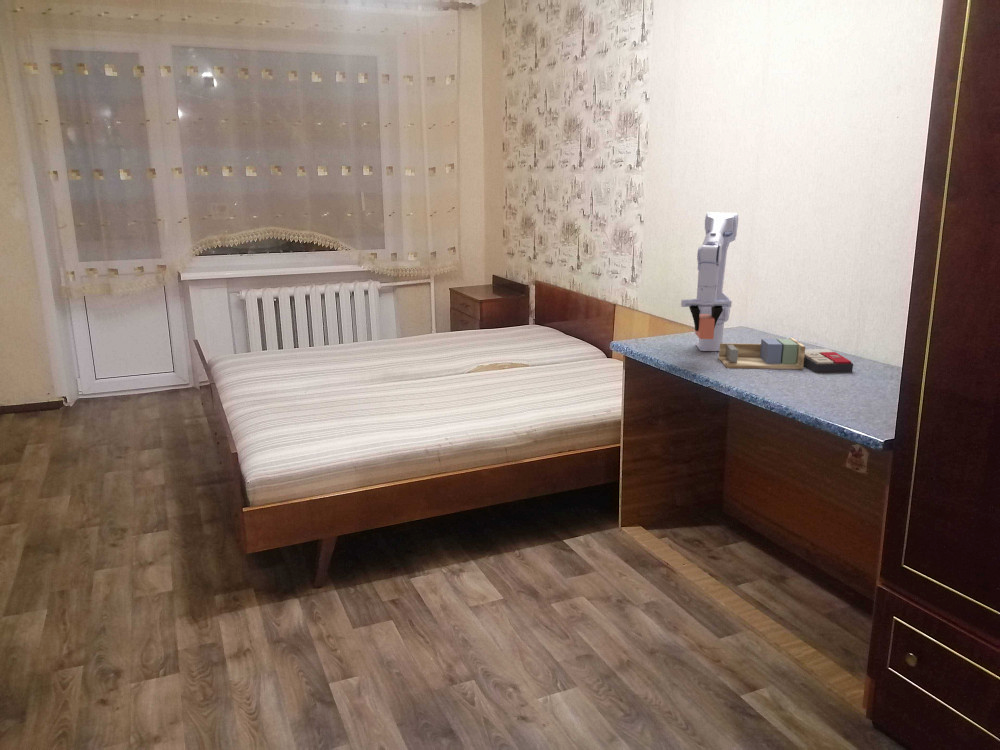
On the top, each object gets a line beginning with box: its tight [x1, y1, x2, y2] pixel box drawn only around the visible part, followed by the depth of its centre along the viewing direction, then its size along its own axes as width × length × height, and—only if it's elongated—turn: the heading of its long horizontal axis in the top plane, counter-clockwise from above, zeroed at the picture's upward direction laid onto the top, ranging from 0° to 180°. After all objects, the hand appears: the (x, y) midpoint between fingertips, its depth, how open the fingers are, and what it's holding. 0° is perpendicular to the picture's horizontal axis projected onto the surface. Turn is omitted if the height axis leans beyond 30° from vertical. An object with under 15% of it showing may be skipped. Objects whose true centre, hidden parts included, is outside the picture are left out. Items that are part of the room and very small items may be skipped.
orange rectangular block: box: [694, 314, 715, 340], centre depth 227 cm, size 8×4×6 cm, turn 176°
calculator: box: [803, 348, 854, 374], centre depth 225 cm, size 11×4×15 cm
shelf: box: [718, 337, 806, 370], centre depth 227 cm, size 12×22×7 cm, turn 86°
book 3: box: [775, 338, 798, 364], centre depth 227 cm, size 8×4×6 cm, turn 176°
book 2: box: [760, 338, 782, 364], centre depth 227 cm, size 8×4×6 cm, turn 176°
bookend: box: [725, 345, 738, 363], centre depth 229 cm, size 7×2×4 cm, turn 176°
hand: (704, 330), depth 228 cm, fingers closed on orange rectangular block, 4 cm apart
